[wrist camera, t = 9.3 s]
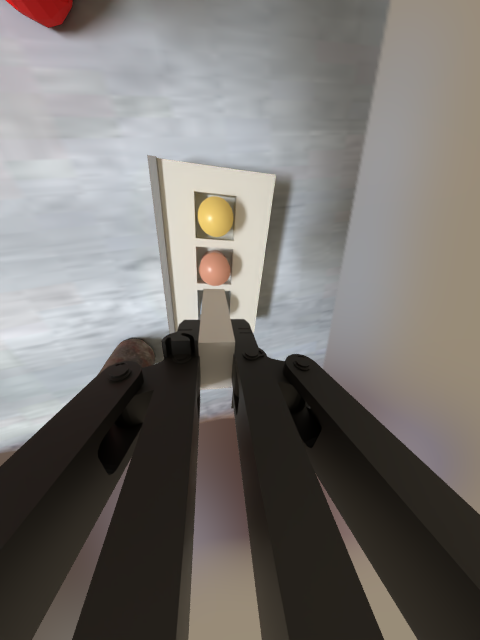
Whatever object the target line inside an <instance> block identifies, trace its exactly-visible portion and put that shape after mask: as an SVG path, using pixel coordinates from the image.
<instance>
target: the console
mask: <svg viewBox="0 0 480 640" xmlns="http://www.w3.org/2000/svg"><path fill="white" fill-rule="evenodd" d="M147 157H148V165H149V173H150V181H151V189H152V197H153V205H154V213H155V221H156V229H157V237H158V245H159V253H160V261H161V269H162V277H163V285H164V293H165V301H166V309H167V317H168V325H169V333H170V334H171V333H174V332H177V331H178V327H179V324H180V323H181V322H182V321H183V320H200V319H201V314H200V310H201V301H202V297H203V289H224V290H225V295H226V300H227V305H228V309H229V314H230V319H245V320H246V321H247V322H248V323H249V324H250V327H251V330H252V332H254V328H255V321H256V314H257V307H258V299H259V292H260V285H261V278H262V271H263V264H264V256H265V249H266V242H267V235H268V228H269V221H270V214H271V206H272V199H273V192H274V185H275V178H276V175H272V174H265V173H258V172H251V171H244V170H237V169H230V168H223V167H216V166H209V165H202V164H194V163H187V162H180V161H173V160H166V159H159V158H157V157H156V156H149V155H147ZM212 196H217V197H221V198H223V199H224V200H225V201H227V202H228V204H229V205H230V207H231V209H232V212H233V224H232V227H231V229H230V230H229V232H228V233H227V234H225V235H223V236H221V237H213V236H210V235H208V234H207V233H205V232H204V231H203V229H202V228H201V226H200V224H199V221H198V210H199V207H200V205H201V203H202V202H203V201H204V200H205V199H206V198H208V197H212ZM211 250H217V251H220V252H222V253H223V254H224V255H225V256H226V258H227V261H228V263H229V265H230V276H229V278H228V280H227V281H226V282H225V283H224V284H222V285H219V286H212V285H209V284H207V283H205V282H204V281H203V280H202V278H201V276H200V273H199V267H200V263H201V259H202V257H203V255H204V254H205V253H206V252H208V251H211Z"/></svg>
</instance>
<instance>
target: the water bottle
mask: <svg viewBox="0 0 480 640" xmlns="http://www.w3.org/2000/svg"><path fill="white" fill-rule="evenodd" d="M6 1H7V2H8V3H9V4H11V5H12V6H13V7H14V8H15V9H16V10H18V11H19V12H20V13H22V14H23V15H25V16H27V17H29V18H31V19H33V20H35V21H36V22H38V23H40V24H42V25H44V26H46V27H48V28H49V27H53V26H57V25H61V24H62V23H63V21H64V20H65V18H66V16H67V15H68V13H69V11H70V9H71V8H72V3H73V0H6Z"/></svg>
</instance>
